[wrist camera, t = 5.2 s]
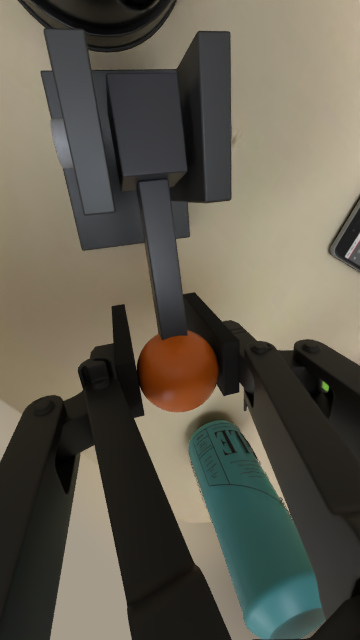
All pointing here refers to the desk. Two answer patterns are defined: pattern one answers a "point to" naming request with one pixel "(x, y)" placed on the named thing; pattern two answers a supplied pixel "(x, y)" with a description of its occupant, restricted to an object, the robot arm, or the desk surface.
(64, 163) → the switch bracket
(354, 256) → the smartphone
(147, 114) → the lever switch
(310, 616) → the beverage bottle
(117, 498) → the robot arm
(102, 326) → the desk surface
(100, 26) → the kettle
